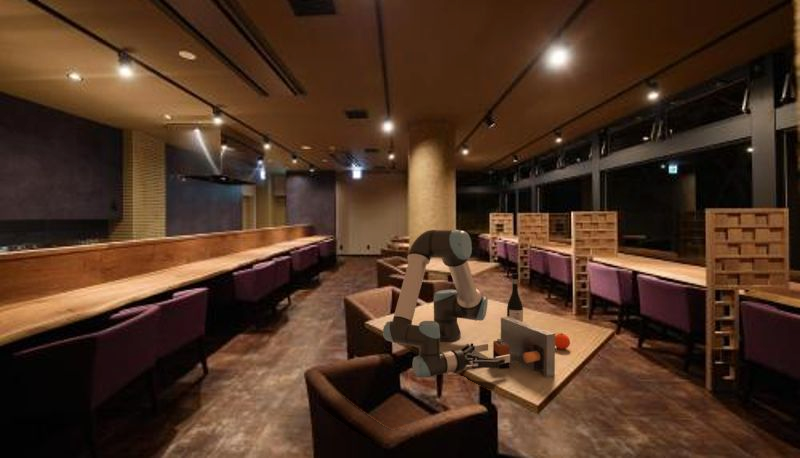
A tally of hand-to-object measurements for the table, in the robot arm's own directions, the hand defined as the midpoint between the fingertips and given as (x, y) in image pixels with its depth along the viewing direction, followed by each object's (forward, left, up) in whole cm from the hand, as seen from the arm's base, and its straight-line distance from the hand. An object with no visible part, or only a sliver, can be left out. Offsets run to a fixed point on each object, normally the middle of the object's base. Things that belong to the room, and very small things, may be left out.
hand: (498, 352), depth 145 cm
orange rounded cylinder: (+11, +6, -1) cm, 13 cm away
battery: (-1, +2, -6) cm, 6 cm away
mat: (-11, -2, -6) cm, 12 cm away
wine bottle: (-35, +39, -6) cm, 52 cm away
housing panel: (+2, +12, -6) cm, 13 cm away
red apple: (-5, +39, -6) cm, 40 cm away
